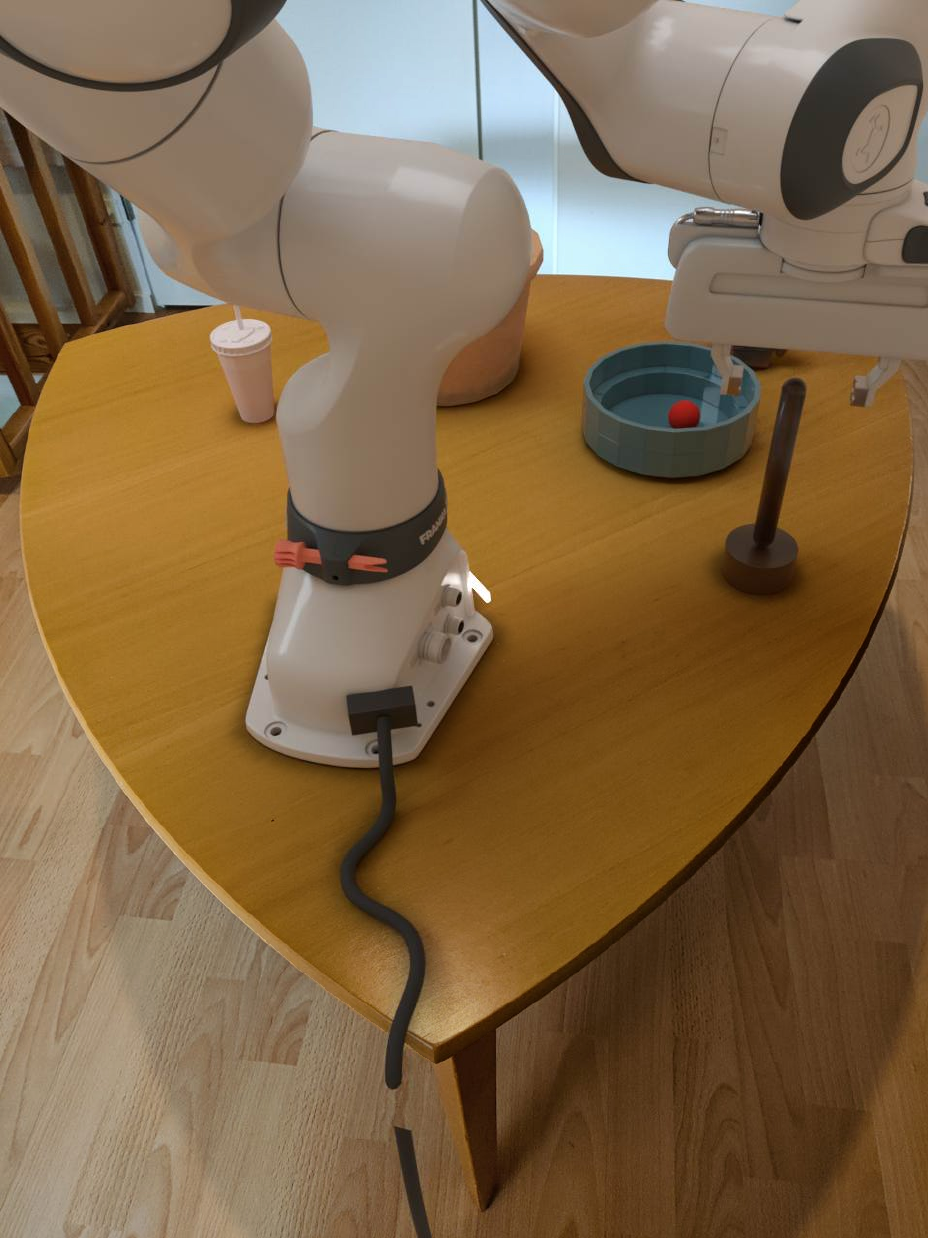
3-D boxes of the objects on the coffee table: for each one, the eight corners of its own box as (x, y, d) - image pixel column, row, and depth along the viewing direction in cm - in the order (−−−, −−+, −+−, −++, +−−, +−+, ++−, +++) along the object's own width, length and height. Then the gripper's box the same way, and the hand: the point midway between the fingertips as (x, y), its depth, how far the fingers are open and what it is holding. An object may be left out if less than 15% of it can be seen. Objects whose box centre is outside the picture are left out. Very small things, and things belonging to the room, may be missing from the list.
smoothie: (292, 398, 111) (270, 278, 102) (279, 430, 107) (254, 307, 97) (236, 398, 112) (209, 278, 102) (221, 429, 107) (191, 307, 98)
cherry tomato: (692, 407, 98) (661, 416, 100) (703, 433, 100) (672, 442, 101) (695, 390, 100) (665, 399, 102) (705, 416, 102) (675, 425, 104)
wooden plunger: (791, 599, 84) (839, 403, 71) (718, 589, 85) (752, 395, 72) (792, 554, 88) (838, 362, 75) (723, 546, 90) (756, 355, 77)
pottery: (580, 376, 112) (585, 251, 102) (415, 443, 104) (404, 314, 94) (471, 307, 126) (466, 191, 116) (317, 362, 117) (298, 241, 107)
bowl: (746, 493, 95) (756, 440, 91) (568, 473, 99) (570, 421, 95) (755, 399, 107) (764, 348, 103) (596, 384, 111) (598, 335, 107)
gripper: (666, 224, 66) (650, 406, 75) (1003, 242, 61) (940, 433, 71) (677, 187, 70) (660, 364, 79) (992, 202, 65) (934, 387, 75)
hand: (794, 397), depth 75 cm, fingers open, 8 cm apart
